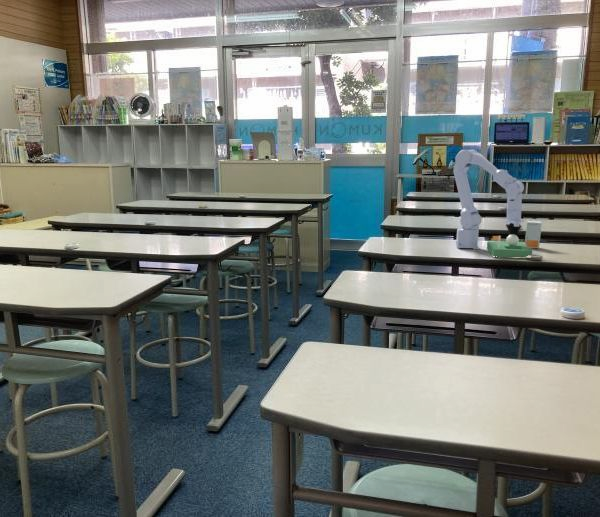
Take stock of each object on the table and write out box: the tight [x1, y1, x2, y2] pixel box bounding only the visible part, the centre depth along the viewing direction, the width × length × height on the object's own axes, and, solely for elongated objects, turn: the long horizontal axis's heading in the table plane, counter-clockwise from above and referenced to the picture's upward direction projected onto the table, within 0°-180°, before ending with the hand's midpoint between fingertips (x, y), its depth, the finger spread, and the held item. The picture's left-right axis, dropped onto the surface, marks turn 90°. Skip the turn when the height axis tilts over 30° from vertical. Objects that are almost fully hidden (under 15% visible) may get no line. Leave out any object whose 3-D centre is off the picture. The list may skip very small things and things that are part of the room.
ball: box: [505, 234, 520, 246], centre depth 231 cm, size 5×5×5 cm
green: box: [486, 235, 533, 257], centre depth 231 cm, size 16×20×9 cm
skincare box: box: [524, 220, 543, 249], centre depth 244 cm, size 6×4×12 cm
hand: (512, 240), depth 233 cm, fingers closed, pressing on ball
